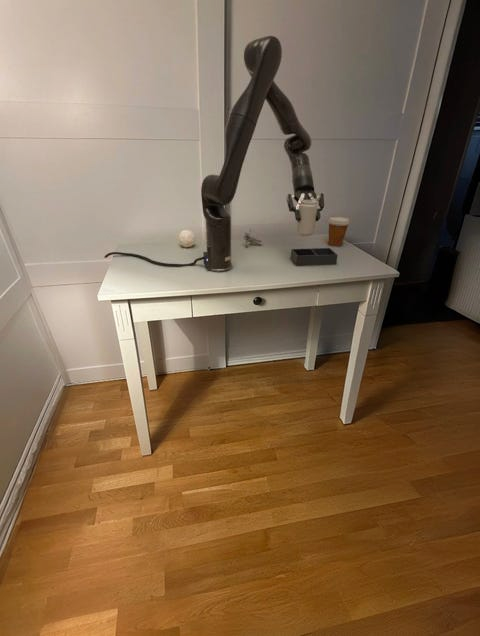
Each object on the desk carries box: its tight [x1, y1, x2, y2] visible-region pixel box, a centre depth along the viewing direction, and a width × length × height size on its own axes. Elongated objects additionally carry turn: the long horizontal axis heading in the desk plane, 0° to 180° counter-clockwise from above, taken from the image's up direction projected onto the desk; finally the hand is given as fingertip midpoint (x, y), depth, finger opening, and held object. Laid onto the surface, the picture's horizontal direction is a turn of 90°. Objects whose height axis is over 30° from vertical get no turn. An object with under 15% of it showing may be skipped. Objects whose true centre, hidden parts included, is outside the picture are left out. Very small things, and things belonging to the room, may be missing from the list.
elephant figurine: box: [243, 228, 263, 248], centre depth 146 cm, size 10×6×9 cm
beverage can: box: [296, 200, 319, 237], centre depth 116 cm, size 6×6×12 cm
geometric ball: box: [177, 229, 197, 248], centre depth 142 cm, size 8×8×8 cm
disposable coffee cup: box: [327, 216, 351, 247], centre depth 146 cm, size 10×10×12 cm
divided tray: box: [289, 247, 338, 267], centre depth 128 cm, size 17×9×4 cm, turn 97°
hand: (308, 220), depth 114 cm, fingers closed on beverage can, 6 cm apart
